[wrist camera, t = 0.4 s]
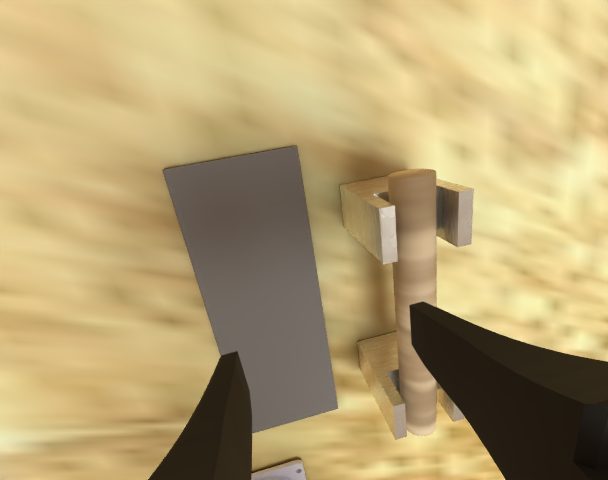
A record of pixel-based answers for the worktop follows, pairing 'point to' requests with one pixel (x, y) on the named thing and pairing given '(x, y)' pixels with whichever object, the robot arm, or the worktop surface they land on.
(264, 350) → the mat
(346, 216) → the hook stands
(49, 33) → the worktop surface
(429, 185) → the rail
